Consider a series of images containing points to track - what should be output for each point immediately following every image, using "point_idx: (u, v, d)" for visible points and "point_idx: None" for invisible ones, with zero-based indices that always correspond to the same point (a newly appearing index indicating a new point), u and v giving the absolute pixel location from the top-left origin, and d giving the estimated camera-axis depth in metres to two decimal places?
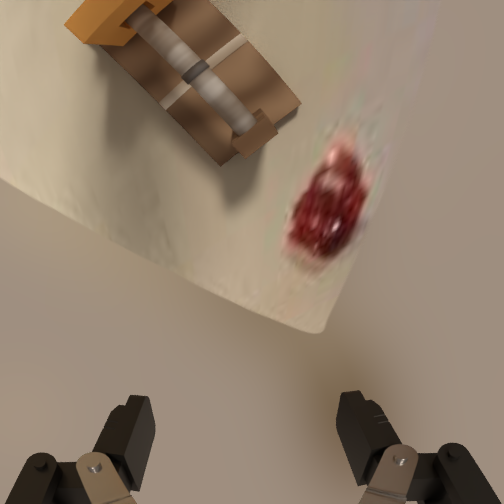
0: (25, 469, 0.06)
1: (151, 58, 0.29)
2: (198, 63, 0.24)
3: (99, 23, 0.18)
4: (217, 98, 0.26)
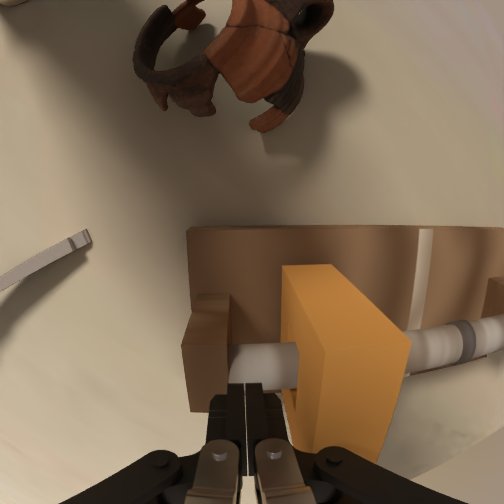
0: (142, 460, 0.08)
1: None
2: (465, 338, 0.15)
3: (374, 460, 0.10)
4: (502, 343, 0.15)
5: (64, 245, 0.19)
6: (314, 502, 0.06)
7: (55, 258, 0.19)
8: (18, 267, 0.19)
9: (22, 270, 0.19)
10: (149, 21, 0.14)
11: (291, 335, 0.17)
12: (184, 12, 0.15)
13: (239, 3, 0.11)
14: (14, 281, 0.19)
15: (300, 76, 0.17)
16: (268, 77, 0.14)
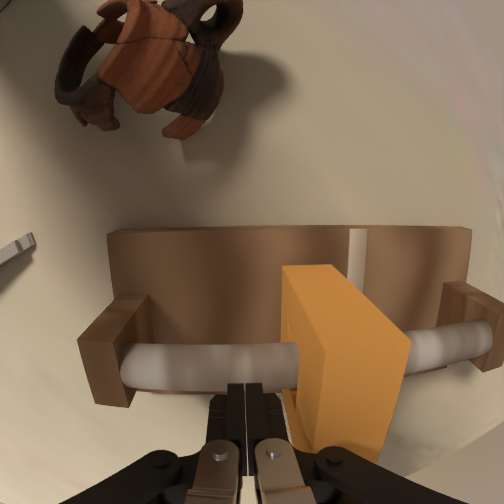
0: (142, 461, 0.08)
1: None
2: None
3: (374, 460, 0.10)
4: (442, 358, 0.14)
5: (12, 247, 0.19)
6: (314, 502, 0.06)
7: (5, 259, 0.19)
8: None
9: None
10: (70, 43, 0.14)
11: (291, 335, 0.17)
12: (107, 28, 0.15)
13: (130, 18, 0.11)
14: None
15: (212, 80, 0.17)
16: (162, 87, 0.14)
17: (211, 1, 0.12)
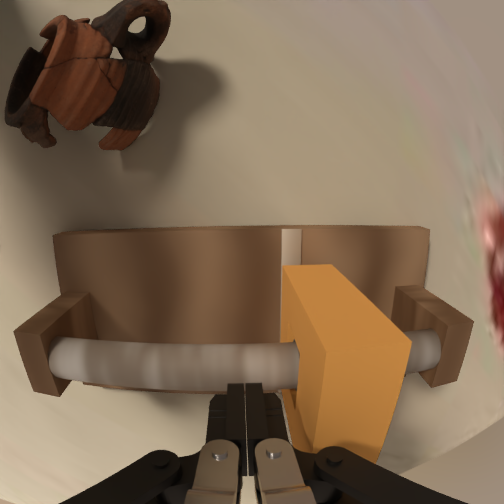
0: (142, 461, 0.08)
1: None
2: None
3: (373, 460, 0.10)
4: None
5: None
6: (314, 502, 0.06)
7: None
8: None
9: None
10: (19, 64, 0.14)
11: (291, 335, 0.17)
12: None
13: (57, 42, 0.11)
14: None
15: (142, 91, 0.16)
16: (87, 104, 0.14)
17: (132, 15, 0.12)
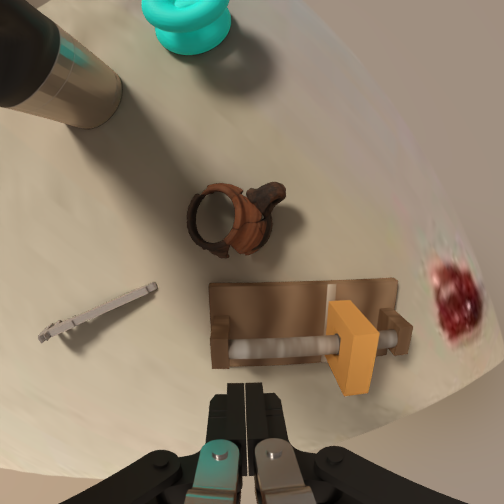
0: (142, 460, 0.08)
1: None
2: None
3: (369, 378, 0.32)
4: None
5: (143, 290, 0.41)
6: (314, 502, 0.06)
7: (138, 297, 0.41)
8: (114, 301, 0.40)
9: (116, 303, 0.40)
10: (192, 204, 0.36)
11: (334, 332, 0.39)
12: None
13: (238, 214, 0.33)
14: (111, 309, 0.40)
15: (269, 228, 0.39)
16: (252, 244, 0.36)
17: (272, 200, 0.34)
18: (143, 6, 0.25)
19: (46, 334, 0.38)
